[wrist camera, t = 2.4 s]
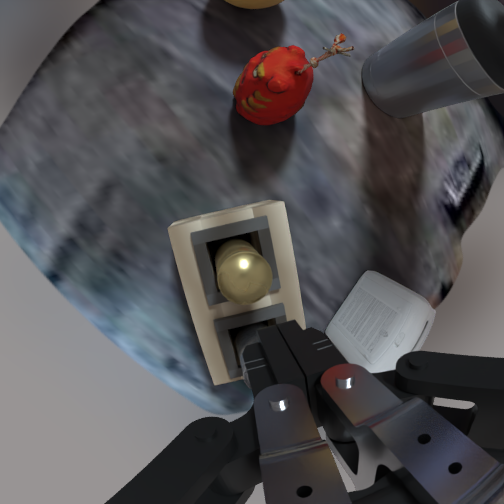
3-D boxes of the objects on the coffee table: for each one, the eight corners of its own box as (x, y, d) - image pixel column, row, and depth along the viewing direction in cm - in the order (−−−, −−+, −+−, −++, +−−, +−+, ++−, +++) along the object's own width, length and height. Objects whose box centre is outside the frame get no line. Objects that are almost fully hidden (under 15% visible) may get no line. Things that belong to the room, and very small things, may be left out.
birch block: (269, 199, 31) (286, 202, 24) (294, 334, 34) (312, 363, 28) (174, 221, 30) (166, 229, 23) (212, 355, 33) (214, 388, 27)
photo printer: (342, 346, 36) (391, 401, 24) (318, 334, 35) (364, 391, 23) (387, 280, 35) (452, 314, 23) (365, 263, 34) (431, 295, 22)
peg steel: (269, 317, 27) (286, 348, 22) (276, 350, 28) (293, 384, 22) (231, 327, 27) (238, 361, 21) (239, 359, 28) (248, 396, 22)
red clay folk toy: (247, 59, 27) (280, -23, 13) (306, 82, 29) (373, 21, 14) (222, 116, 28) (238, 54, 14) (284, 140, 30) (349, 103, 15)
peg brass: (252, 233, 26) (266, 246, 20) (260, 274, 26) (276, 297, 21) (210, 243, 25) (211, 258, 19) (220, 284, 26) (224, 310, 20)
